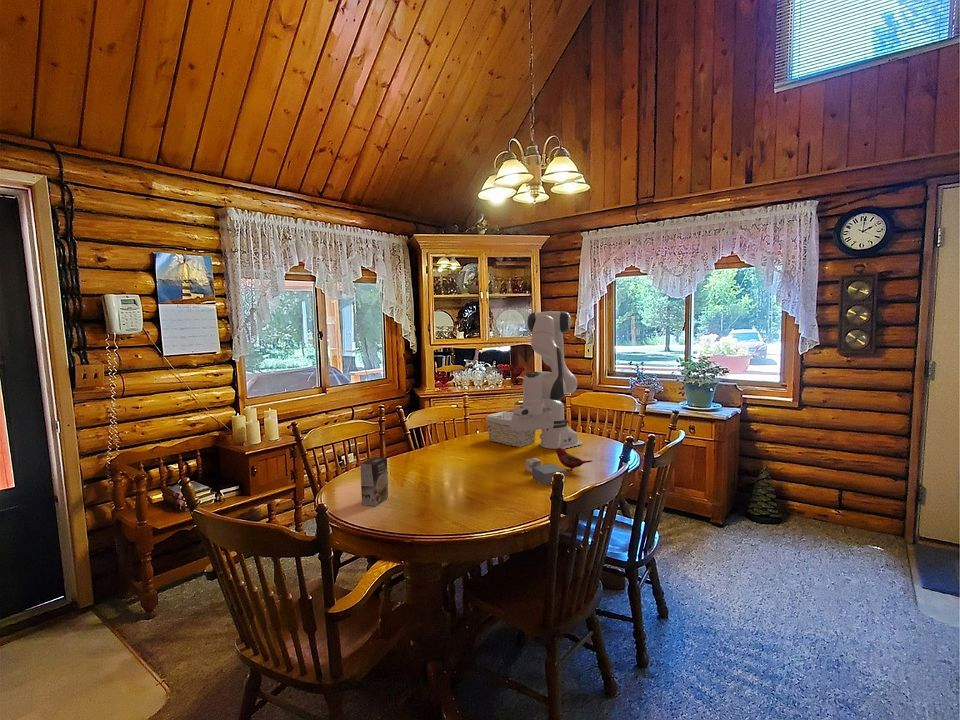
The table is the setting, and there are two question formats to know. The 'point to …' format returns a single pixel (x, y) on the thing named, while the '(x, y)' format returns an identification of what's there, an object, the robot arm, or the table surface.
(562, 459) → the decorative bird figurine
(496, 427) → the storage basket
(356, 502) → the table surface
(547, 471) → the grey block
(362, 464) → the coffee box
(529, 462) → the cream cube
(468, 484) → the table surface
